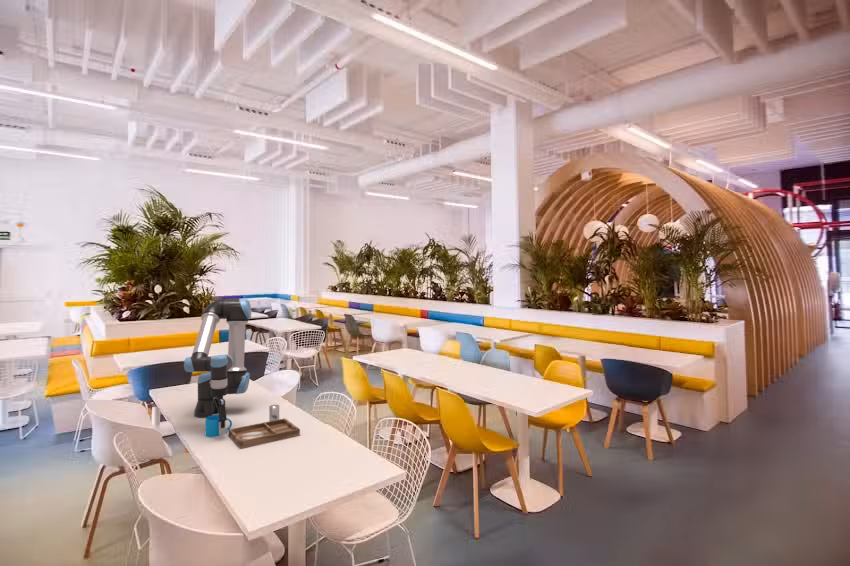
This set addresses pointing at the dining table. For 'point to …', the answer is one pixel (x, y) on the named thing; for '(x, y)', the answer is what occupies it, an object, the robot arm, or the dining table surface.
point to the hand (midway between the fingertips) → (218, 430)
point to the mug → (214, 426)
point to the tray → (263, 433)
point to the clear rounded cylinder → (273, 412)
